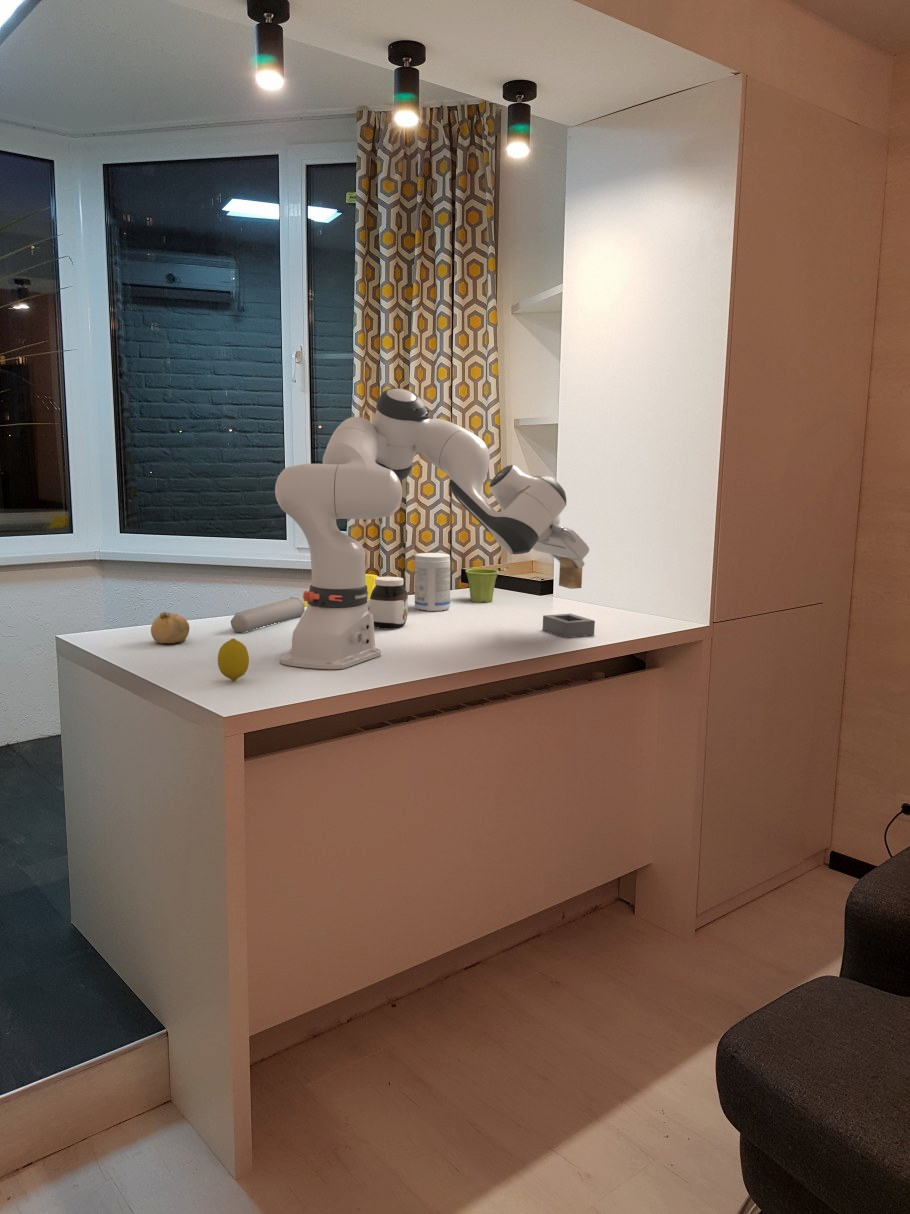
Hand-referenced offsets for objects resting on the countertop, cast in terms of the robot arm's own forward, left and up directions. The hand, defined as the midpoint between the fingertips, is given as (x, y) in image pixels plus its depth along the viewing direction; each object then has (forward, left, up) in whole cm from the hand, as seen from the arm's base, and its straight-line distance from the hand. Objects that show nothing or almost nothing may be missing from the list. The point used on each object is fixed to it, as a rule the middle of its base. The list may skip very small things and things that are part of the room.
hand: (573, 564), depth 217 cm
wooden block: (0, 0, -5) cm, 5 cm away
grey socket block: (-1, 0, -16) cm, 16 cm away
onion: (-46, +79, -17) cm, 93 cm away
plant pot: (+35, +31, -17) cm, 50 cm away
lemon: (-70, +50, -17) cm, 88 cm away
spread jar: (-9, +44, -17) cm, 48 cm away
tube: (-20, +70, -17) cm, 74 cm away
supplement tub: (+17, +40, -17) cm, 47 cm away
